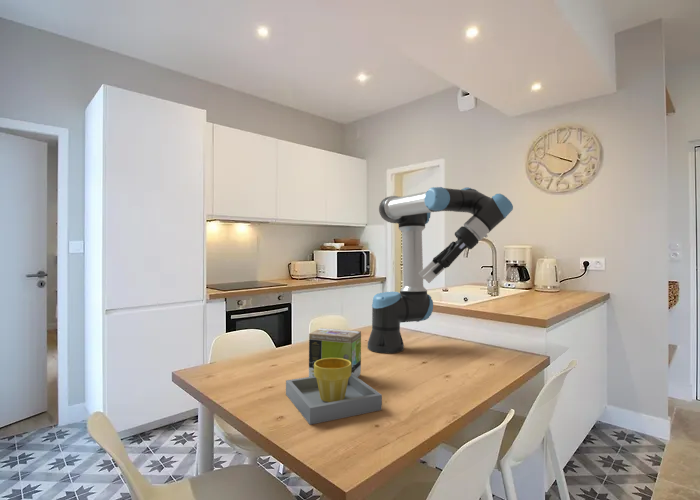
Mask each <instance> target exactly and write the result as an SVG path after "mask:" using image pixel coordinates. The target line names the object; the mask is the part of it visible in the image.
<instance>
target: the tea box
mask: <svg viewBox="0 0 700 500" xmlns="http://www.w3.org/2000/svg"><path fill="white" fill-rule="evenodd" d="M324 358H342V359H346V360H349V361H350V362H351V364H352V370H351V373H352V374H353V375H355V376H356V377H357V378H359V377H360V375H361V371H362V370H361V369H362V331H361V330H350V329H340V328H339V329H338V328H327V327H325V328H324V327H319V328H318V329H316V330H313V331H312V332H310V333H309V334H308V377H313V376H314V363H315V362H316V361H317V360H320V359H324Z"/></svg>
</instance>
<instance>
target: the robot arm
mask: <svg viewBox="0 0 700 500" xmlns="http://www.w3.org/2000/svg"><path fill="white" fill-rule="evenodd" d="M513 210H514V205H513V204H512V201H511V200H510V199H509V198H508V197H507V196H506V195H504V194H502V193H496V194H494V195H493V196H492V197H491V196H490V197H489V196H487V195H485V194H483V193H482V192H480V191H479V190H476V189H475V188H471V187H463V188H461V189H459V188H458V189H456V188H449V187H448V188H447V187H442V186H436V187H434V186H433V187H430V188H428V190H426V191H424V192H419V193H414V194H409V195H404V196H398V195H392V196H391V195H390V196H387V197H385V198H383V199H382V200H381V201H380V203H379V206H378V212H379V215H380V217H381V219H383V220H384V221H386V222H387V223H389V224H390V223H391V224H398V230H399V231H400V232H401V234H402V236H401V238H402V240H401V241H402V244H401V245H402V275H403V276H402V277H403V279H402V280H403V281H402V283H403V285H402V287H401V289H400V291H385V292H379V293H376V294H375V295H373V297H372V305H371V308H372V309H371V310H372V311H371V312H372V314H371V315H372V317H371V318H372V319H371V322H372V323H371V332H370V334H369V337H368V340H367V350H369V351H372V352H373V353H374V352H375V353H378V354H379V353H381V354H396V353H401V352H402V351H404V347H405V345H404V344H405V343H404V340H403V337H402V334H401V323H411V322H416V323H417V322H422V321H426V320H428V319H429V318H430V317H431V316H432V314H433V310H434V302H433V299H432V296H431V295H430V294H428V289H427V288H426V287H425V286H424V280H425V281H426V282H427V283H428V284H430V283H432V281H433V280H435V279H436V278H437V276H438V275H440V273H442V272H443V271H444V270H445V269H447V268H449V267H450V266H451V265H452V264H453V263H454V262H455V260H457V258H458V257H459V256H460V255H461V253H463V252H464V250H466V249H468V250H472V249H473V248H474V247H476V246H477V245H478V244H479V241H482V240H483V239H484V238H488V234H489V233H490V232H491V231H492V230H493V229H495V227H497V226H498V225H499V224H500V223H501V222H502V221H504V219H506V218H507V217H508V216H509V214H510V213H512V211H513ZM437 212H456V213H468V214H471V215H472V216H470V218H469V219H467V221H466V222H464V223H463V225H462V226H460V227H459V228H458V229H457V230H456V231H455V232H454V236H455V238H456V239H457V240H456V241H453V240H452V242H450V244H448V246H446V247H444V249H443V250H442V251H441V252H439V253H438V254H437V255H435V256H434V257H433V259H432V260H431V262H429V263H428V264H427V265H426V266H425V267H424V263H423V261H424V260H423V231H424V230H425V228H426V225H427V224H428V223H429V222H430V219H431V214H432V213H437Z"/></svg>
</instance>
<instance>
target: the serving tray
mask: <svg viewBox="0 0 700 500" xmlns="http://www.w3.org/2000/svg"><path fill="white" fill-rule="evenodd" d="M285 395H286V397H288V399H289V400H290V401H291V403H292V405H294V407H295V408H296V409H297V410H298V412H299V413H300V414H301V415H302V417H303V418H304V419H305V421H306V422H307V423H308V424H309V426H310V425H315V424H320V423H324V422H330V421H334V420H335V421H336V420H339V419H343V418H344V419H345V418H349V417H353V416H358V415H359V416H360V415H363V414H368V413H373V412H377V411H382V407H383V405H382V404H383V394H381V393H380V392H379V391H377V390H376V389H374V388H373V387H372V386H370V385H369V384H367V383H366V382H364V381H363V380H362V379H360V378H359V377H358V378H357V377H356V376H355V375H353V374H352V373H351V376H350V377H349V379H348V384H347V388H346V393H345V398H344V400H339V401H334V402H324V401H323V400H321V398H320V393H319V388H318V383H317V378H316V377H315V376H313V377H309V376H307V377H306V376H305V377H299V378H292V379H286V380H285Z"/></svg>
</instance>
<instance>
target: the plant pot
mask: <svg viewBox="0 0 700 500" xmlns="http://www.w3.org/2000/svg"><path fill="white" fill-rule="evenodd" d="M351 370H352V364H351V362H350V361H349V360H346V359H342V358H324V359H320V360H317V361H316V362H315V363H314V376H315V377H316V378H317V383H318V388H319V393H320V398H321V400H323V401H324V402H334V401H339V400H344V398H345V393H346V388H347V384H348V379H349V377H350V376H351Z"/></svg>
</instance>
